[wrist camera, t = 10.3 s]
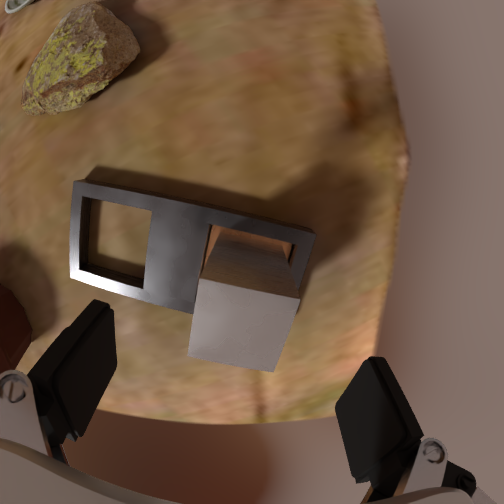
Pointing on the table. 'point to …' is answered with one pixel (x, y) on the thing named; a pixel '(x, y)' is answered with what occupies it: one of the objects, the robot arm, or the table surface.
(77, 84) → the rock
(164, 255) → the dark grey slotted tray
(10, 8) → the saucer
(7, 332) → the muffin
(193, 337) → the silver rectangular block
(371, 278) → the table surface
